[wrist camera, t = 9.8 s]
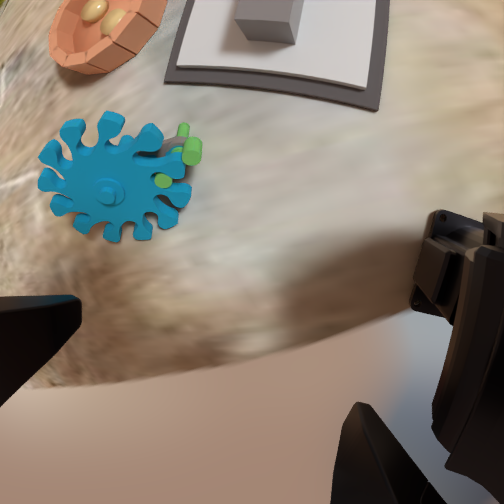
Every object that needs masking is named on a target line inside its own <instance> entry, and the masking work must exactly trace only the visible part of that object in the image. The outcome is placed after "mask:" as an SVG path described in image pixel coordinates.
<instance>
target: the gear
mask: <svg viewBox="0 0 504 504" xmlns="http://www.w3.org/2000/svg"><path fill="white" fill-rule="evenodd" d="M124 123H125V117H123V116H122V115H120V114H118V113H114V112H110V111H106V112H104V114H103V115H102V117H101V119H100V120H99V122H98V125H97V128H98V133H99V139H98V143H97V144H96V145H95V146H94V147H86V146H84V145H83V144H82V142H81V137H82V135H83V133H84V132H85V130H86V124H85V122H84V120H83V119H73V120H69V121H66V122H65V123H64V125H63V126H62V128H61V129H60V137H61V138H62V140H63V141H64V142H65V143H66V144H67V145H68V147H69V149H70V151H71V153H72V158H73V161H69V160H67V159H65V158H64V157H63V154H62V147H61V145H60V143H59V142H58V141H57V140H55V139H53V140H51V141H50V142H48V143H47V144H46V146H45V147H44V148H43V150H42V152H41V153H40V155H39V156H38V158H39V160H40V161H41V162H42V163H44V164H46V165H49V166H51V167H53V168H54V169H56V170H57V171H58V172H59V173H60V174H61V175H62V176H63V178H64V179H65V180H63V179H61V178H59V177H58V175H57V174H56V173H55V172H54V171H53V170H52V169H50V168H44V170H43V171H42V173H41V175H40V177H39V179H38V189H40V190H41V191H44V192H49V191H52V192H58V193H61V194H63V195H61V194H56V195H54V196H53V198H52V200H51V203H50V208H51V210H52V212H53V213H54V215H55V216H63V215H64V214H66V213H69V212H84V213H79V214H77V215H76V218H75V221H74V223H73V227H74V228H75V229H76V230H77V231H79V232H80V233H82V234H87V233H89V231H90V228H91V227H92V226H93V225H94V224H96V223H99V222H102V221H109V222H110V223H107V224H106V225H105V229H104V232H103V238H104V239H106V240H109V241H112V242H119V241H120V237H121V233H122V227H121V226H122V224H123V223H124V222H126V221H133V222H135V223H136V224H135V227H134V232H133V237H134V238H135V239H137V240H148V239H151V236H152V230H153V226H152V224H151V223H150V222H149V221H148V220H147V219H146V217H145V214H144V213H146V212H154V213H156V214H157V215H158V225H159V226H160V227H161V228H163V229H168V228H171V227H173V226H174V225H176V224H178V215H179V214H178V211H177V210H176V209H174V208H172V207H169V206H167V205H165V204H164V203H163V202H162V201H161V200H160V199H159V198H158V196H157V195H159V194H162V195H166V196H167V197H168V198H169V199H170V201H171V203H172V204H173V205H174V206H176V207H180V208H183V207H184V206H186V205H187V203H188V202H189V200H190V197H191V190H192V187H191V186H190V185H188V184H186V183H173V182H172V180H173V179H181V178H184V175H185V167H186V164H187V165H190V166H193V165H197V164H198V163H199V162H200V161H201V155H202V141H201V140H200V139H199V138H197V137H189V138H188V135H189V128H190V126H189V124H187V123H181V124H180V125H179V127H178V132H177V137H173V138H170V139H167V140H164V141H163V139H164V136H163V134H162V132H161V131H160V130H159V129H158V128H157V127H156V126H155V125H154V124H153V123H149V124H146V125H145V126H144V127H143V128H142V130H141V132H140V133H139V135H138V136H137V137H136V138H135V139H133V137H131V136H130V135H124V136H123V137H122V138H121V140H120V142H119V144H118V146H116V145H113V144H111V143H110V141H109V139H111V138H114V137H116V136H117V135H119V133H120V132H121V129H122V127H123V125H124ZM155 172H156V175H155V174H154V173H155ZM64 195H65V196H67V197H69V198H71V199H69V198H67V197H65V196H64ZM85 213H87V214H85Z"/></svg>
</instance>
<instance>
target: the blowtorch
mask: <svg viewBox="0 0 504 504" xmlns="http://www.w3.org/2000/svg"><path fill="white" fill-rule="evenodd" d="M8 1H9V0H0V15H1V14H2V12H3V11H4V9H5V7H6V5H7V3H8Z"/></svg>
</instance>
